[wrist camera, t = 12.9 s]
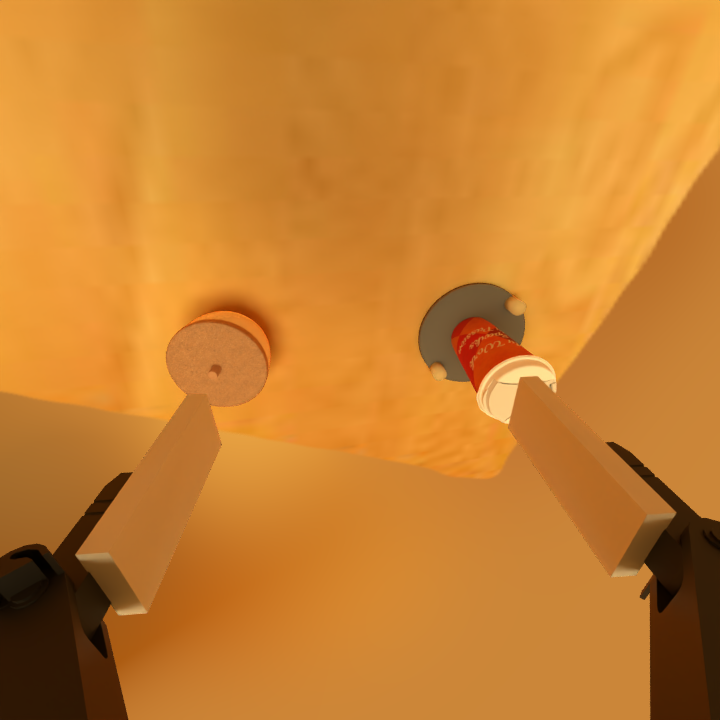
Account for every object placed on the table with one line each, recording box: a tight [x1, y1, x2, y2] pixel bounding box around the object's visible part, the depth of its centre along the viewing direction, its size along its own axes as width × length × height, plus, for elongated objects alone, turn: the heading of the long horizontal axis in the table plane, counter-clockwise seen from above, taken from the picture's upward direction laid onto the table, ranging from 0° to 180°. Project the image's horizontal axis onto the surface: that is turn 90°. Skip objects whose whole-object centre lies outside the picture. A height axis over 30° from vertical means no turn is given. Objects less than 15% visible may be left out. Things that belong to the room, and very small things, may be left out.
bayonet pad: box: [419, 283, 526, 382], centre depth 44 cm, size 14×14×3 cm
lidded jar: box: [166, 311, 271, 407], centre depth 39 cm, size 11×11×9 cm
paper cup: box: [451, 317, 556, 424], centre depth 38 cm, size 8×8×14 cm
